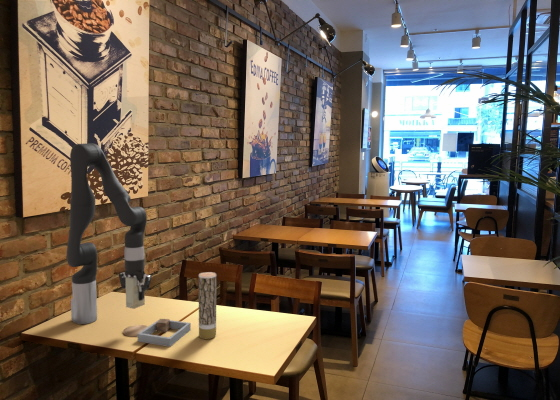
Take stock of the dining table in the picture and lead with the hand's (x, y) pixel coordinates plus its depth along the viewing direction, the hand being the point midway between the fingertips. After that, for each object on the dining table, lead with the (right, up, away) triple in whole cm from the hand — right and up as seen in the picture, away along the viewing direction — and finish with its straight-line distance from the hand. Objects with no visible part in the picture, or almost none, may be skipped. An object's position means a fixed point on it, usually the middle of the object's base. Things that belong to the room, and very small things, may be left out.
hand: (135, 299), depth 177 cm
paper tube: (+29, -14, -1) cm, 32 cm away
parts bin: (+12, -14, -2) cm, 19 cm away
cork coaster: (0, -13, +2) cm, 13 cm away
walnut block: (+10, -13, +3) cm, 17 cm away
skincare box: (0, -3, 0) cm, 3 cm away
